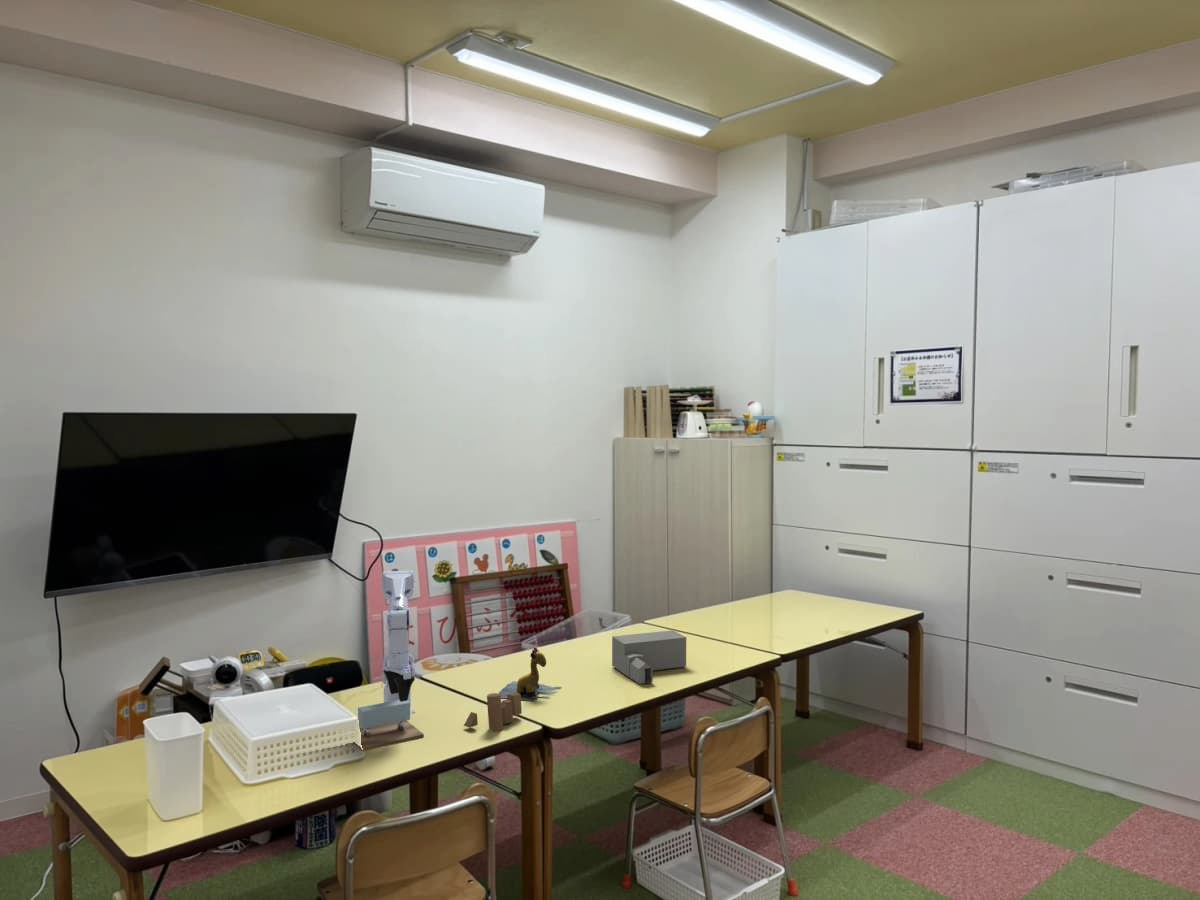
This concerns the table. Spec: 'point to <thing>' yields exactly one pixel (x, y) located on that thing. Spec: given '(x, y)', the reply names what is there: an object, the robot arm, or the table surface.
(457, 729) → the table surface
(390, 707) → the blue-grey rectangular block
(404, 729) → the peg plate
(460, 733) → the table surface
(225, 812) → the table surface
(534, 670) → the stuffed giraffe
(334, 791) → the table surface
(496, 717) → the wooden block set
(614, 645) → the gray box with nozzle
